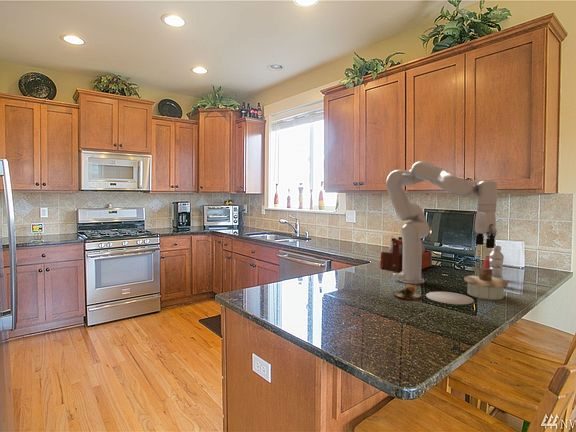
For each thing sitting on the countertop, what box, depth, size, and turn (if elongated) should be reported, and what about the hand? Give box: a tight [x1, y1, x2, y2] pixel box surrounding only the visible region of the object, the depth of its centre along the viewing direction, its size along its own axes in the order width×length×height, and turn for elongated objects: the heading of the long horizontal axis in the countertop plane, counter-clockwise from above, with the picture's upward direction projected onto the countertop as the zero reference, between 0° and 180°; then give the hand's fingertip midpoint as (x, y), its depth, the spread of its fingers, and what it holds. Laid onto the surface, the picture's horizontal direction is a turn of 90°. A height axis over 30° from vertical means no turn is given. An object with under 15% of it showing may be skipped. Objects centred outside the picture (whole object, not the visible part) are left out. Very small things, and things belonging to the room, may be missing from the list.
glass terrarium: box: [393, 284, 422, 301], centre depth 152 cm, size 12×12×8 cm
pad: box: [425, 291, 475, 305], centre depth 151 cm, size 19×19×1 cm
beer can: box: [483, 255, 490, 269], centre depth 187 cm, size 7×7×12 cm
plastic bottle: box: [488, 245, 505, 280], centre depth 173 cm, size 6×7×20 cm
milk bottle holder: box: [379, 236, 433, 272], centre depth 217 cm, size 21×35×19 cm, turn 137°
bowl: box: [466, 283, 505, 300], centre depth 155 cm, size 14×14×6 cm
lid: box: [463, 267, 508, 288], centre depth 155 cm, size 17×17×6 cm
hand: (484, 246), depth 155 cm, fingers open, 9 cm apart
